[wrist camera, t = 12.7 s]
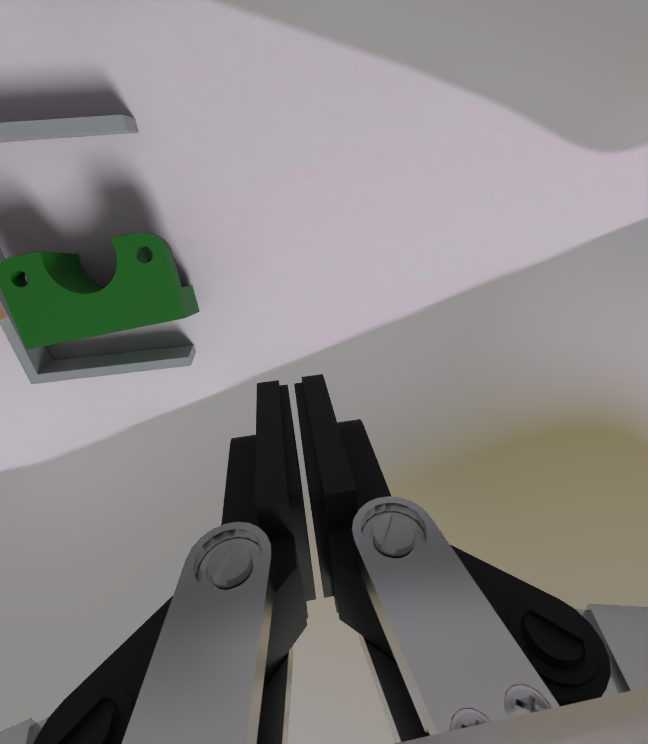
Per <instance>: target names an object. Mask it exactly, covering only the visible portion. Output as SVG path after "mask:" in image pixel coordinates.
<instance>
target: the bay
mask: <svg viewBox="0 0 648 744" xmlns="http://www.w3.org/2000/svg"><path fill="white" fill-rule="evenodd" d="M137 132H138V129H137V125H136V121H135V118H132V117H129V116H126V115H107V116H92V117H77V118H62V119H47V120H32V121H17V122H2V123H0V142H10V141H24V140H38V139H52V138H67V137H81V136H95V135H109V134H123V133H137ZM3 260H5V258H4V256H3V254H2V252H1V250H0V263H1V262H2V261H3ZM0 325H1V327H2V329H3V331H4V332H5V334H6V336H7V338H8V340H9V342H10V344H11V346H12V348H13V350H14V352H15V354H16V355H17V357H18V359H19V361H20V363H21V365H22V367H23V369H24V371H25V373H26V375H27V377H28V379H29V380H30V382H31V384H37V383H45V382H54V381H62V380H71V379H79V378H88V377H96V376H105V375H113V374H122V373H130V372H139V371H147V370H156V369H164V368H173V367H182V366H190V365H191V364H192V361H193V358H194V356H195V353H196V351H195V348H194V344H193V345H184V346H175V347H166V348H158V349H149V350H140V351H131V352H122V353H113V354H105V355H96V356H87V357H78V358H69V359H60V360H52V358H51V356H50V354H49V352H48V349H47V347H46V346H42V347H37V348H32V349H27V350H26V349H25V346H24V344H23V341H22V339H21V336H20V334H19V332H18V329H17V327H16V324H15V322H14V319H13V317H12V315H11V312H10V310H9V307H8V305H7V302H6V300H5V298H4V295H3V293H2V290H1V288H0Z"/></svg>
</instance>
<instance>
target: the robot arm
mask: <svg viewBox="0 0 648 744" xmlns="http://www.w3.org/2000/svg"><path fill="white" fill-rule="evenodd" d="M294 386H295V393H296V401H297V408H298V416H299V424H300V431H301V439H302V447H303V454H304V462H305V468H306V476H307V483H308V490H309V497H310V503H311V510H312V517H313V524H314V531H315V538H316V545H317V551H318V558H319V565H320V572H321V579H322V585H323V592H324V598H325V597H331V596H334V599H335V605H336V610H337V612H339V618H340V620H342V621H343V622H344V623H346V624H347V625H348V626H350V627H351V628H353V629H354V630H355V631H357V632H358V634H359V639H360V642H361V646H362V648H363V651H364V654H365V657H366V660H367V663H368V666H369V668H370V671H371V674H372V677H373V679H374V683H375V685H376V688H377V691H378V694H379V697H380V699H381V702H382V705H383V708H384V711H385V714H386V717H387V719H388V722H389V725H390V728H391V731H392V733H393V737H394V739H395V742H396V744H648V607H636V606H619V605H600V604H588V605H587V608H586V610H581V609H574V608H572V607H571V606H569V605H568V604H566V603H565V602H563V601H561V600H560V599H558V598H556V597H554V596H552V595H550V594H548V593H546V592H544V591H542V590H540V589H538V588H536V587H534V586H532V585H530V584H528V583H526V582H523V581H522V580H519V579H518V578H516V577H514V576H512V575H510V574H507V573H506V572H503V571H502V570H500V569H498V568H496V567H494V566H492V565H490V564H488V563H486V562H484V561H482V560H480V559H478V558H475V557H474V556H472V555H470V554H468V553H466V552H463V551H462V550H460V549H458V548H456V547H454V546H452V545H450V544H449V543H448V541H447V540H446V538H445V537H444V535H443V534H442V533H441V531H440V530H439V528H438V527H437V525H436V524H435V523H434V521H433V519H432V518H431V517H430V515H429V514H428V513H427V512H426V511H425V510H424V509H423V508H422V507H420V506H419V505H417V504H416V503H414V502H413V501H410V500H407V499H404V498H401V497H391V494H390V492H389V489H388V487H387V484H386V481H385V479H384V476H383V474H382V471H381V469H380V466H379V464H378V461H377V458H376V456H375V453H374V451H373V448H372V446H371V443H370V441H369V438H368V436H367V433H366V430H365V428H364V425H363V423H362V421H361V420H360V419H358V420H352V421H345V422H338V423H337V421H336V417H335V415H334V411H333V407H332V404H331V400H330V397H329V394H328V391H327V387H326V383H325V380H324V377H323V374H321V375H313V376H306V377H302V383H296V384H295V385H294ZM315 599H316V595H315V588H314V579H313V571H312V564H311V557H310V548H309V540H308V532H307V524H306V516H305V509H304V501H303V493H302V485H301V478H300V469H299V462H298V456H297V448H296V441H295V435H294V427H293V420H292V413H291V406H290V398H289V391H288V385H281V386H279V381H278V380H277V381H270V382H262V383H257V413H256V435H251V436H245V437H237V438H232V439H231V443H230V451H229V460H228V469H227V479H226V489H225V498H224V506H223V516H222V525H221V526H219V527H216V528H214V529H212V530H211V531H209V532H208V533H206V534H205V535H204V536H203V537H201V538H200V539H199V540H198V541H197V543H196V544H195V545H194V546H193V547H192V549H191V551H190V552H189V554H188V557H187V558H186V561H185V563H184V566H183V569H182V572H181V575H180V578H179V581H178V584H177V586H176V589H175V592H174V595H173V596H172V597H171V598H170V599H169V600H168V601H167V602H166V603H165V604H164V605H163V606H162V607H161V608H160V609H159V610H157V611H156V612H155V613H154V614H153V615H152V616H151V617H150V618H149V619H148V620H147V621H146V622H145V623H144V624H143V625H142V626H141V627H140V628H139V629H138V630H137V631H136V632H135V633H133V634H132V636H130V637H129V638H128V639H127V640H126V641H125V642H124V643H123V644H122V645H121V646H120V647H119V648H118V649H117V650H116V651H115V652H114V653H113V654H112V655H111V656H109V657H108V658H107V659H106V660H105V661H104V662H103V663H102V664H101V665H100V666H99V667H98V668H97V669H96V670H95V671H94V672H93V673H92V674H91V675H90V676H89V677H88V678H86V679H85V680H84V681H83V682H82V683H81V684H80V685H79V687H77V688H76V689H75V690H74V691H73V692H72V693H71V694H70V695H69V696H68V697H67V698H66V699H65V700H64V701H63V702H62V703H61V704H60V705H59V707H58V708H57V709H56V710H55V711H54V712H53V713H52V714H51V716H50V717H48V718H46V719H44V720H42V721H40V722H37V723H36V722H35V721H34V720H33V719H32V718H30V719H28V720H26V721H23V722H21V723H19V724H16V725H14V726H12V727H10V728H8V729H5V730H3V731H1V732H0V744H287V743H288V727H289V713H290V697H291V682H292V666H293V644H294V643H295V642H296V640H297V639H298V637H299V636H300V635H301V633H302V632H303V630H304V629H305V628H306V626H307V621H306V618H308V614H307V604H306V601H309V600H315Z"/></svg>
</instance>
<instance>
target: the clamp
mask: <svg viewBox="0 0 648 744" xmlns="http://www.w3.org/2000/svg"><path fill="white" fill-rule="evenodd" d="M109 239H110V241H111V243H112V245H113V247H114V249H115V252H116V257H117V267H116V272H115V275H114V277H113V279H112V280H111V282H110V283H109V284H108V285H107V286H106V287H105V288H101V287H99V286H98V285H96V284H94V283H93V282H92V281H91V280H90V279H89V278H88V277H87V276H86V275H85V273H84V271H83V270H82V267H81V265H80V261H79V257H78V254H68V253H55V252H42V251H41V252H35V253H30V254H25V255H20V256H14V257H10V258H7V259H5V260H3V261H2V262H1V263H0V288H1V290H2V293H3V295H4V298H5V300H6V302H7V305H8V307H9V310H10V312H11V315H12V317H13V319H14V322H15V324H16V327H17V329H18V332H19V334H20V336H21V339H22V341H23V344H24V346H25V349H26V350H27V349H32V348H37V347H42V346H47V345H52V344H57V343H62V342H67V341H72V340H77V339H82V338H87V337H92V336H97V335H102V334H107V333H112V332H117V331H122V330H127V329H132V328H137V327H142V326H147V325H152V324H157V323H162V322H167V321H172V320H177V319H182V318H186V317H188V316H191V315H193V314H195V313H197V312H199V308H198V304H197V301H196V297H195V294H194V290H193V286H187V287H182V285H181V282H180V278H179V275H178V271H177V268H176V264H175V261H174V257H173V254H172V250H171V248H170V246H169V245H168V243H167V242H166V241H165V240H164V239H163V238H161V237H159V236H157V235H153V234H149V233H144V232H140V233H134V234H129V235H124V236H119V237H113V238H109ZM146 248H150V250H151V251H152V254H153V258H152V260H151V261H150V262H149V259H148V255H147V252H146ZM25 274H27V276H28V279H29V282H28V283H27V282H26V280H25Z"/></svg>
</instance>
